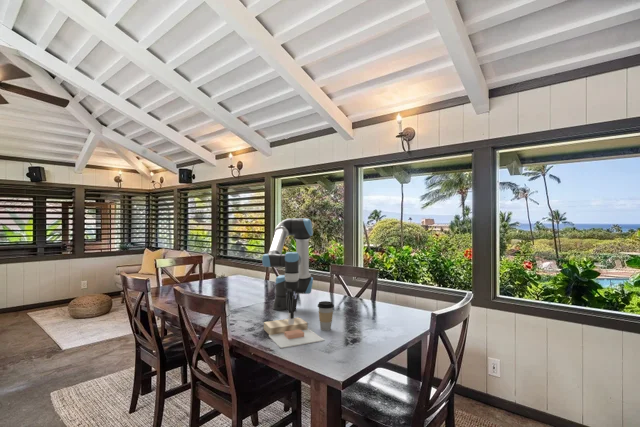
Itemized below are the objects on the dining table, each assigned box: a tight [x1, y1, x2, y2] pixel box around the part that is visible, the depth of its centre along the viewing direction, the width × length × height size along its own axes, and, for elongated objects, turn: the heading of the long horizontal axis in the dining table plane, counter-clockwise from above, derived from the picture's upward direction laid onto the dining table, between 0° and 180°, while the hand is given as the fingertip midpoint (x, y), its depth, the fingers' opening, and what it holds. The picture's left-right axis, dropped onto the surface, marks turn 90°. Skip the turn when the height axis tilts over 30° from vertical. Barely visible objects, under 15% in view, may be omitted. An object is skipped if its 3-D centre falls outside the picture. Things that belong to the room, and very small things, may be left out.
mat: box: [268, 328, 325, 349], centre depth 171 cm, size 24×19×1 cm
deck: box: [263, 317, 309, 336], centre depth 184 cm, size 22×12×4 cm, turn 117°
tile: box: [284, 329, 304, 339], centre depth 173 cm, size 9×6×2 cm, turn 116°
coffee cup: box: [317, 300, 335, 332], centre depth 186 cm, size 9×9×15 cm
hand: (291, 324), depth 177 cm, fingers closed
